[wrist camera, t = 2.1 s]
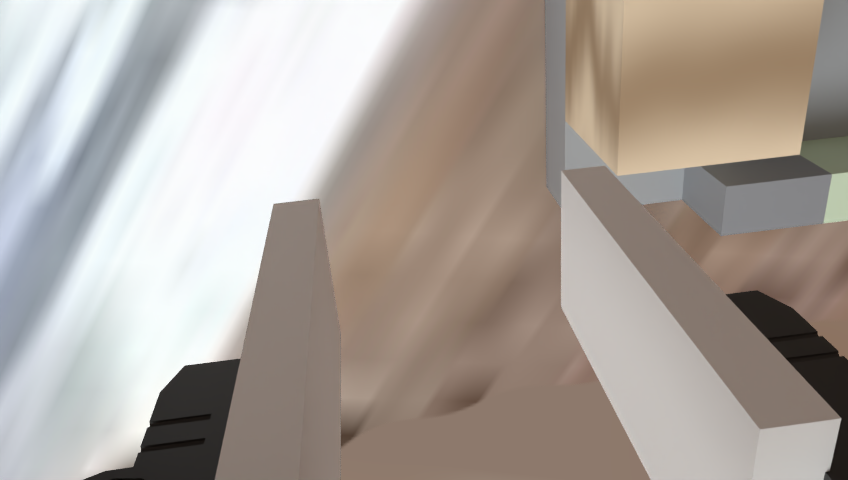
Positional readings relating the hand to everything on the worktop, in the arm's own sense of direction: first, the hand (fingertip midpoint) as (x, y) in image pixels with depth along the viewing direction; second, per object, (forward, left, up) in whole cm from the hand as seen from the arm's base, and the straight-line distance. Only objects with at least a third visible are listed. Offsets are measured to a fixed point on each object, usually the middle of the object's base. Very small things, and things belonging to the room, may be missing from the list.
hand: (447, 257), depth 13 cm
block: (0, +10, -16) cm, 18 cm away
